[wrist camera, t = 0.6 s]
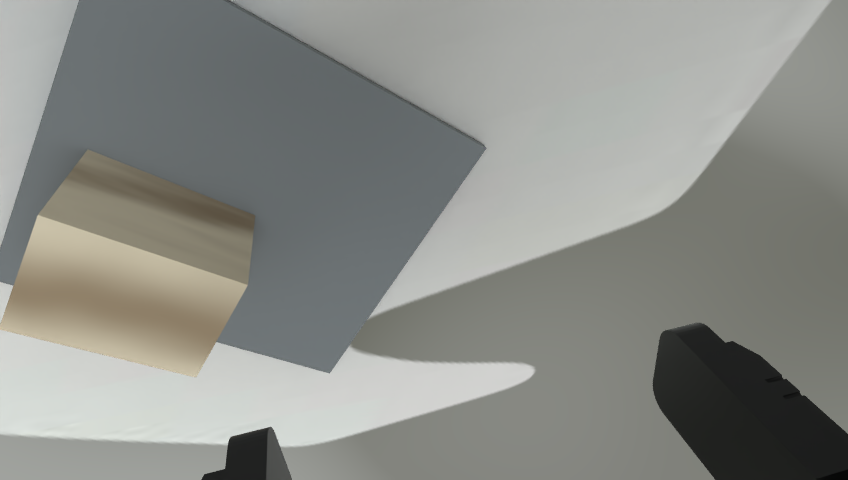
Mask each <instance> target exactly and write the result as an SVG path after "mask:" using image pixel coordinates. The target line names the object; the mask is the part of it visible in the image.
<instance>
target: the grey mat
mask: <svg viewBox="0 0 848 480" xmlns="http://www.w3.org/2000/svg"><path fill="white" fill-rule="evenodd" d="M485 149H486V147H485V146H484V144H482V143H480V142H478V141H477V140H475V139H473V138H471V137H469V136H468V135H466V134H464V133H462V132H461V131H459V130H457V129H455V128H453V127H452V126H450V125H448V124H446V123H445V122H443V121H441V120H439V119H438V118H436V117H434V116H432V115H430V114H429V113H427V112H425V111H423V110H422V109H420V108H418V107H416V106H414V105H413V104H411V103H409V102H407V101H406V100H404V99H402V98H400V97H399V96H397V95H395V94H393V93H391V92H390V91H388V90H386V89H384V88H383V87H381V86H379V85H377V84H375V83H374V82H372V81H370V80H368V79H367V78H365V77H363V76H361V75H360V74H358V73H356V72H354V71H352V70H351V69H349V68H347V67H345V66H344V65H342V64H340V63H338V62H337V61H335V60H333V59H331V58H329V57H328V56H326V55H324V54H322V53H321V52H319V51H317V50H315V49H313V48H312V47H310V46H308V45H306V44H305V43H303V42H301V41H299V40H298V39H296V38H294V37H292V36H290V35H289V34H287V33H285V32H283V31H282V30H280V29H278V28H276V27H274V26H273V25H271V24H269V23H267V22H266V21H264V20H262V19H260V18H259V17H257V16H255V15H253V14H251V13H250V12H248V11H246V10H244V9H243V8H241V7H239V6H237V5H236V4H234V3H232V2H230V1H228V0H79V3H78V6H77V9H76V12H75V15H74V18H73V22H72V25H71V28H70V31H69V34H68V37H67V41H66V44H65V47H64V50H63V53H62V56H61V59H60V63H59V66H58V69H57V72H56V75H55V78H54V81H53V85H52V88H51V91H50V94H49V97H48V100H47V104H46V107H45V110H44V113H43V116H42V119H41V122H40V126H39V129H38V132H37V135H36V138H35V141H34V144H33V148H32V151H31V154H30V157H29V160H28V163H27V166H26V170H25V173H24V176H23V179H22V182H21V185H20V189H19V192H18V195H17V198H16V201H15V204H14V207H13V211H12V214H11V217H10V220H9V223H8V226H7V229H6V233H5V236H4V239H3V242H2V245H1V248H0V282H3V283H6V284H10V285H14V283H15V280H16V277H17V274H18V271H19V268H20V266H21V263H22V260H23V257H24V254H25V251H26V248H27V245H28V242H29V239H30V236H31V233H32V230H33V227H34V225H35V222H36V219H37V216H38V214H39V213H40V211H41V210H42V209H43V207H44V206H45V205H46V203H47V202H48V201H49V200H50V198H51V197H52V196H53V194H54V193H55V192H56V190H57V189H58V188H59V186H60V185H61V184H62V182H63V181H64V180H65V179H66V177H67V176H68V175H69V173H70V172H71V171H72V169H73V168H74V167H75V165H76V164H77V163H78V161H79V160H80V159H81V158H82V156H83V155H84V154H85V152H86V151H87V150H91V151H93V152H96V153H98V154H101V155H103V156H106V157H108V158H111V159H113V160H116V161H119V162H121V163H124V164H126V165H129V166H131V167H134V168H136V169H139V170H141V171H144V172H146V173H149V174H151V175H154V176H157V177H159V178H162V179H164V180H167V181H169V182H172V183H174V184H177V185H179V186H182V187H184V188H187V189H189V190H192V191H195V192H197V193H200V194H202V195H205V196H207V197H210V198H212V199H215V200H217V201H220V202H222V203H225V204H228V205H230V206H233V207H235V208H238V209H240V210H243V211H245V212H248V213H250V214H253V215H255V223H254V232H253V242H252V251H251V261H250V270H249V280H248V286H247V288H246V289H245V291H244V293H243V295H242V297H241V298H240V300H239V302H238V304H237V305H236V307H235V309H234V311H233V313H232V314H231V316H230V318H229V320H228V321H227V323H226V325H225V327H224V329H223V330H222V332H221V334H220V336H219V337H218V339H217V341H216V342H219V343H222V344H226V345H230V346H233V347H237V348H240V349H244V350H247V351H251V352H255V353H258V354H262V355H265V356H269V357H273V358H276V359H280V360H283V361H287V362H291V363H294V364H298V365H301V366H305V367H309V368H312V369H316V370H319V371H323V372H327V373H330V372H331V371H332V369H333V368H334V366H335V365H336V364H337V362H338V361H339V359H340V358H341V356H342V355H343V353H344V352H345V351H346V349H347V348H348V346H349V345H350V343H351V342H352V341H353V339H354V338H355V336H356V335H357V333H358V332H359V330H360V329H361V328H362V326H363V325H364V323H365V322H366V320H367V319H368V318H369V316H370V315H371V313H372V312H373V310H374V309H375V308H376V306H377V305H378V303H379V302H380V300H381V299H382V297H383V296H384V295H385V293H386V292H387V290H388V289H389V287H390V286H391V285H392V283H393V282H394V280H395V279H396V277H397V276H398V274H399V273H400V272H401V270H402V269H403V267H404V266H405V264H406V263H407V262H408V260H409V259H410V257H411V256H412V254H413V253H414V251H415V250H416V249H417V247H418V246H419V244H420V243H421V241H422V240H423V239H424V237H425V236H426V234H427V233H428V231H429V230H430V228H431V227H432V226H433V224H434V223H435V221H436V220H437V218H438V217H439V216H440V214H441V213H442V211H443V210H444V208H445V207H446V205H447V204H448V203H449V201H450V200H451V198H452V197H453V195H454V194H455V193H456V191H457V190H458V188H459V187H460V185H461V184H462V182H463V181H464V180H465V178H466V177H467V175H468V174H469V172H470V171H471V170H472V168H473V167H474V165H475V164H476V162H477V161H478V160H479V158H480V157H481V155H482V154H483V152H484V151H485Z"/></svg>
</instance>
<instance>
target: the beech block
mask: <svg viewBox="0 0 848 480" xmlns="http://www.w3.org/2000/svg"><path fill="white" fill-rule="evenodd" d="M254 223H255V215H253V214H250V213H248V212H245V211H243V210H240V209H238V208H235V207H233V206H230V205H228V204H225V203H222V202H220V201H217V200H215V199H212V198H210V197H207V196H205V195H202V194H200V193H197V192H195V191H192V190H189V189H187V188H184V187H182V186H179V185H177V184H174V183H172V182H169V181H167V180H164V179H162V178H159V177H157V176H154V175H151V174H149V173H146V172H144V171H141V170H139V169H136V168H134V167H131V166H129V165H126V164H124V163H121V162H119V161H116V160H113V159H111V158H108V157H106V156H103V155H101V154H98V153H96V152H93V151H91V150H87V151H86V152H85V154H84V155H83V156H82V158H81V159H80V160H79V161H78V163H77V164H76V165H75V167H74V168H73V169H72V171H71V172H70V173H69V175H68V176H67V177H66V179H65V180H64V181H63V182H62V184H61V185H60V186H59V188H58V189H57V190H56V192H55V193H54V194H53V196H52V197H51V198H50V200H49V201H48V202H47V203H46V205H45V206H44V207H43V209H42V210H41V211H40V213H39V214H38V216H37V219H36V222H35V225H34V227H33V230H32V233H31V236H30V239H29V242H28V245H27V248H26V251H25V254H24V257H23V260H22V263H21V266H20V268H19V271H18V274H17V277H16V280H15V283H14V286H13V289H12V292H11V295H10V298H9V301H8V304H7V307H6V310H5V312H4V315H3V318H2V321H1V324H0V330H4V331H8V332H12V333H16V334H20V335H24V336H29V337H33V338H37V339H41V340H45V341H49V342H53V343H57V344H61V345H65V346H69V347H74V348H78V349H82V350H86V351H90V352H94V353H98V354H102V355H106V356H110V357H114V358H119V359H123V360H127V361H131V362H135V363H139V364H143V365H147V366H151V367H155V368H159V369H164V370H168V371H172V372H176V373H180V374H184V375H188V376H192V377H197V375H198V373H199V371H200V370H201V368H202V366H203V364H204V362H205V361H206V359H207V357H208V355H209V354H210V352H211V350H212V348H213V346H214V345H215V343H216V341H217V339H218V337H219V336H220V334H221V332H222V330H223V329H224V327H225V325H226V323H227V321H228V320H229V318H230V316H231V314H232V313H233V311H234V309H235V307H236V305H237V304H238V302H239V300H240V298H241V297H242V295H243V293H244V291H245V289H246V288H247V286H248V280H249V270H250V261H251V251H252V242H253V232H254Z"/></svg>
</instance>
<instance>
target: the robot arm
mask: <svg viewBox="0 0 848 480" xmlns="http://www.w3.org/2000/svg"><path fill="white" fill-rule="evenodd" d="M653 391H654V395H655V398H656V401H657V403H658V405H659V407H660V409H661V411H662V412H663V413H664V415H665V416H666V417H667V419H668V420H669V421H670V422H671V423H672V425H673V426H674V428H675V429H676V430H677V431H678V432H679V434H680V435H681V436H682V438H683V439H684V440H685V442H686V443H687V444H688V445H689V447H690V448H691V449H692V450H693V452H694V453H695V454H696V455H697V457H698V458H699V459H700V461H701V462H702V463H703V464H704V466H705V467H706V468H707V470H708V471H709V472H710V473H711V475H712V476H713V477H714V479H715V480H848V434H847V433H846V432H845V431H844V430H843V429H842V428H841V427H839V426H838V425H837V424H836V423H835V422H834V421H833V420H831V419H830V418H829V417H828V416H827V415H826V414H825V413H824V412H823V411H821V410H820V409H819V408H818V407H817V406H816V405H815V404H814V403H812V402H811V401H810V400H809V399H808V398H807V397H806V396H802V395H801V394H800V391H799V390H798V389H797V388H796V387H795V386H793V385H792V384H791V383H790V382H789V381H788V380H787V379H783V378H782V375H781V374H780V373H779V372H778V371H777V370H776V369H775V368H773V367H772V366H771V365H770V364H769V363H768V362H767V361H766V360H764V359H763V358H762V357H761V356H760V355H758V354H756V353H754V352H752V351H750V350H748V349H746V348H745V347H743V346H741V345H739V344H737V343H735V342H733V341H731V342H727V343H725V342H724V341H723V340H722V339H721V338H719V336H717V335H716V334H715V333H714V332H713V331H712V330H711V329H710V328H709V327H708V326H706V325H705V324H702V323H694V324H690V325H686V326H682V327H678V328H674V329H670V330H666V331H664V332H663V333H662V334H661V336H660V340H659V346H658V353H657V359H656V365H655V372H654V378H653ZM202 480H292V478H291V475H290V472H289V470H288V467H287V464H286V462H285V459H284V456H283V454H282V451H281V448H280V446H279V443H278V440H277V438H276V435H275V432H274V430H273V429H272V427H268V428H264V429H260V430H256V431H252V432H248V433H244V434H240V435H236V436H232V437H231V438H230V439H229V442H228V450H227V458H226V467H225V469H224V470H220V471H216V472H212V473H208V474H204V476H203V478H202Z"/></svg>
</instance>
